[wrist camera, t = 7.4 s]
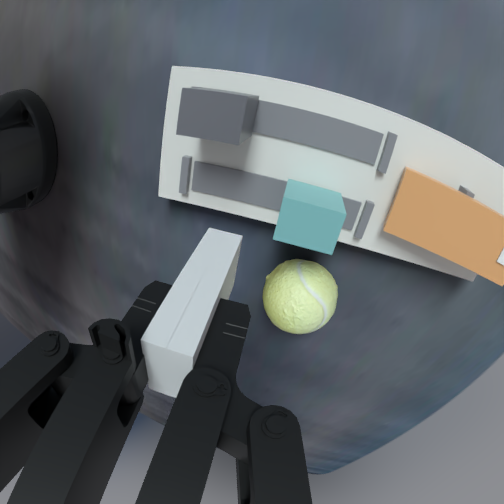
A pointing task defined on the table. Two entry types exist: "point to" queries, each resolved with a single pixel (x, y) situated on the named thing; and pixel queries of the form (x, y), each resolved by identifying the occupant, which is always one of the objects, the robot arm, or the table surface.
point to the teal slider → (310, 217)
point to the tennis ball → (300, 296)
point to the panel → (318, 159)
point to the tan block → (448, 224)
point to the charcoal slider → (216, 115)
